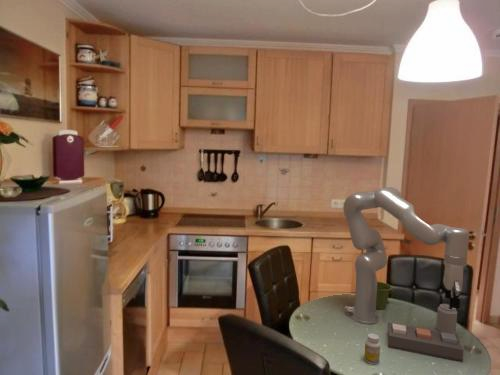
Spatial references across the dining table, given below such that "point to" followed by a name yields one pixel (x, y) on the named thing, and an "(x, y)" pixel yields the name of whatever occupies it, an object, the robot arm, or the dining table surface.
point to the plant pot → (382, 295)
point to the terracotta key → (423, 333)
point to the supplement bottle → (372, 349)
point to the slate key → (448, 338)
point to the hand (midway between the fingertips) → (451, 302)
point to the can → (446, 319)
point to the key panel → (425, 344)
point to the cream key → (399, 329)
